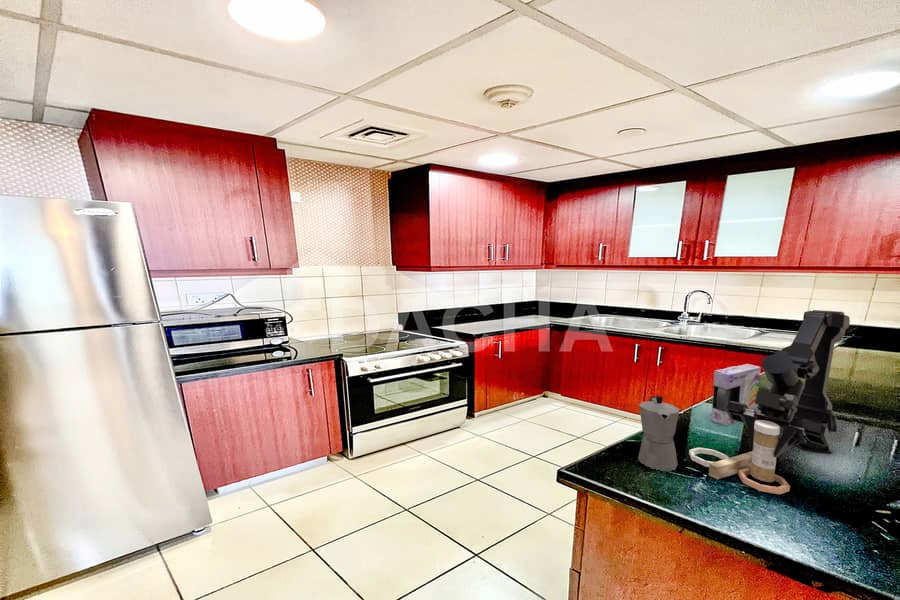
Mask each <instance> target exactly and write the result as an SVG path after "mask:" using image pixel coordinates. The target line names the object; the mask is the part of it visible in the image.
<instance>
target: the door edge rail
mask: <svg viewBox="0 0 900 600" xmlns="http://www.w3.org/2000/svg"><path fill="white" fill-rule="evenodd" d="M752 452H753V451H749V452H745V453H742V454H739V455H734V456H730V457H729V458H727V459H724V460H723V459H721V460H718V461H712V462H713V463H710V464H709V467H708V476H709V477H711V478H713V479H715V480H720V479H724V478H726V477H730V476H732V475H736V474H738V471H739V470H742V469H745V468H751V465H752Z"/></svg>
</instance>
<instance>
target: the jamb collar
mask: <svg viewBox="0 0 900 600" xmlns="http://www.w3.org/2000/svg"><path fill="white" fill-rule="evenodd" d="M688 451H689V452H688V455H689V457H690V459H691V460H692V461H693V462H694V463H695V462H696V463H697V464H700V465H701V466H703V467H706V468H709V464H710V463H713V462H714V461H711V460H705V459H703V458H701V457H699V456H697V455H698V454H704V455H712V456H714V457H717V458H719V459H721V460H724V459H727V458H730V457H729V456H728V455H727V454H725V453H722V452H720V451H718V450H716V449H711V448H705V447H695V448H691V449H689V450H688Z"/></svg>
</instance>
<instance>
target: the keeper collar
mask: <svg viewBox="0 0 900 600" xmlns="http://www.w3.org/2000/svg"><path fill="white" fill-rule="evenodd" d="M750 471H751V468H745V469H742V470H739V471H738V473H737V475H738V477H739V478H740V480H741V482H742V483H743V484H744V485H747V486H749V487H751V488H753V489H755V490H758V491H759V492H762V493H764V492H765V493H769V494H774V495H775V494H776V495H782V494H786V493H787V492H790V490H791V486H790V484H789V483H788V482H787V480H785V478H784V477H782V476H780V475H777V474H776V473H775V474H774V478H775V480H774V481H773V482H776V483H778V484H780V485H779V486H772V485H767V484H761V483H758V482H757V481H755V480H752V479H750V478H748V477H747V476H748V475H751V474H750Z"/></svg>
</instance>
